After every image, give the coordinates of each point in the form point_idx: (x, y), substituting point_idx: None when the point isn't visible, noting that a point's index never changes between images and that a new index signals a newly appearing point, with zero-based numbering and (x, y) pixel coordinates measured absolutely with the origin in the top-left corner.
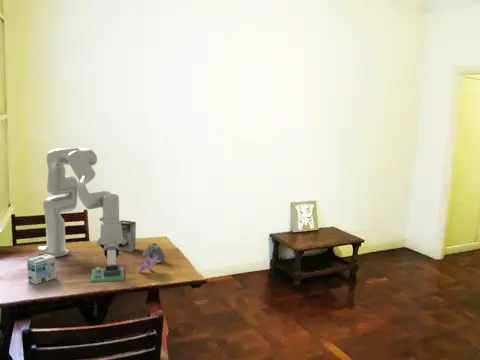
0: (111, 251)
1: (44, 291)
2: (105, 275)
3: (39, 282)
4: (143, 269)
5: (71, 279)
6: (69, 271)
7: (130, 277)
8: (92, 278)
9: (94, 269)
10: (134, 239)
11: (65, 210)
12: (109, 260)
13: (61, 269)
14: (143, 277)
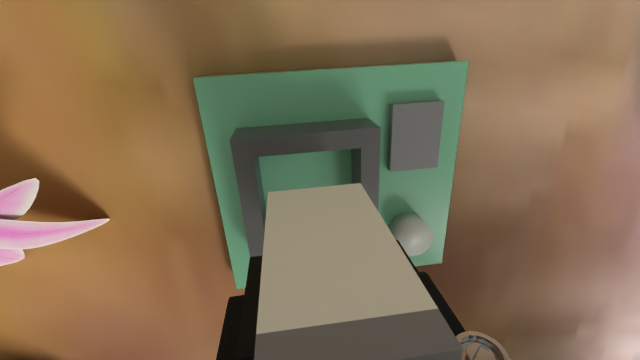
0: (345, 299)
1: None
2: (356, 120)
3: None
4: (54, 237)
5: (570, 130)
6: (554, 256)
7: (153, 127)
8: (454, 84)
9: (428, 256)
10: None
11: None
12: (348, 207)
13: (585, 283)
14: (31, 116)
